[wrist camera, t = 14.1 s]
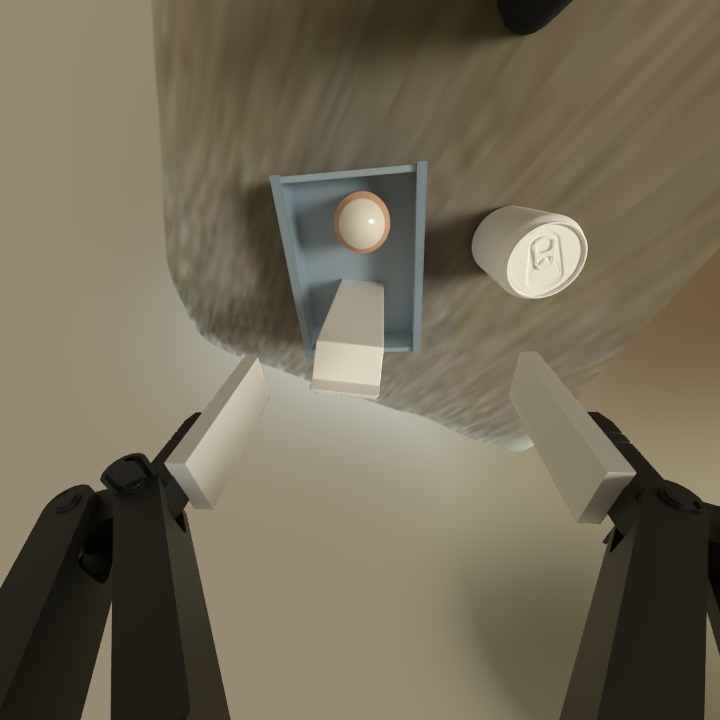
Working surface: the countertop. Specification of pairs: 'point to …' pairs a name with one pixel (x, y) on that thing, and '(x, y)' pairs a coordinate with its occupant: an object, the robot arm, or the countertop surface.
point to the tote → (335, 262)
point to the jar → (362, 222)
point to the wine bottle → (529, 13)
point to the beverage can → (529, 250)
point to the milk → (351, 342)
